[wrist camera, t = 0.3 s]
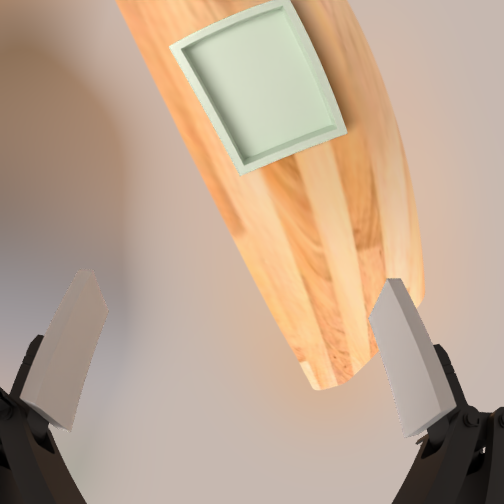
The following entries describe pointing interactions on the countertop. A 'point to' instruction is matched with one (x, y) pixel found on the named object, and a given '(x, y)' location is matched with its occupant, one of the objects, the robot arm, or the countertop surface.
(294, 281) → the countertop surface
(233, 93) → the tray
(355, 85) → the countertop surface
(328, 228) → the countertop surface
